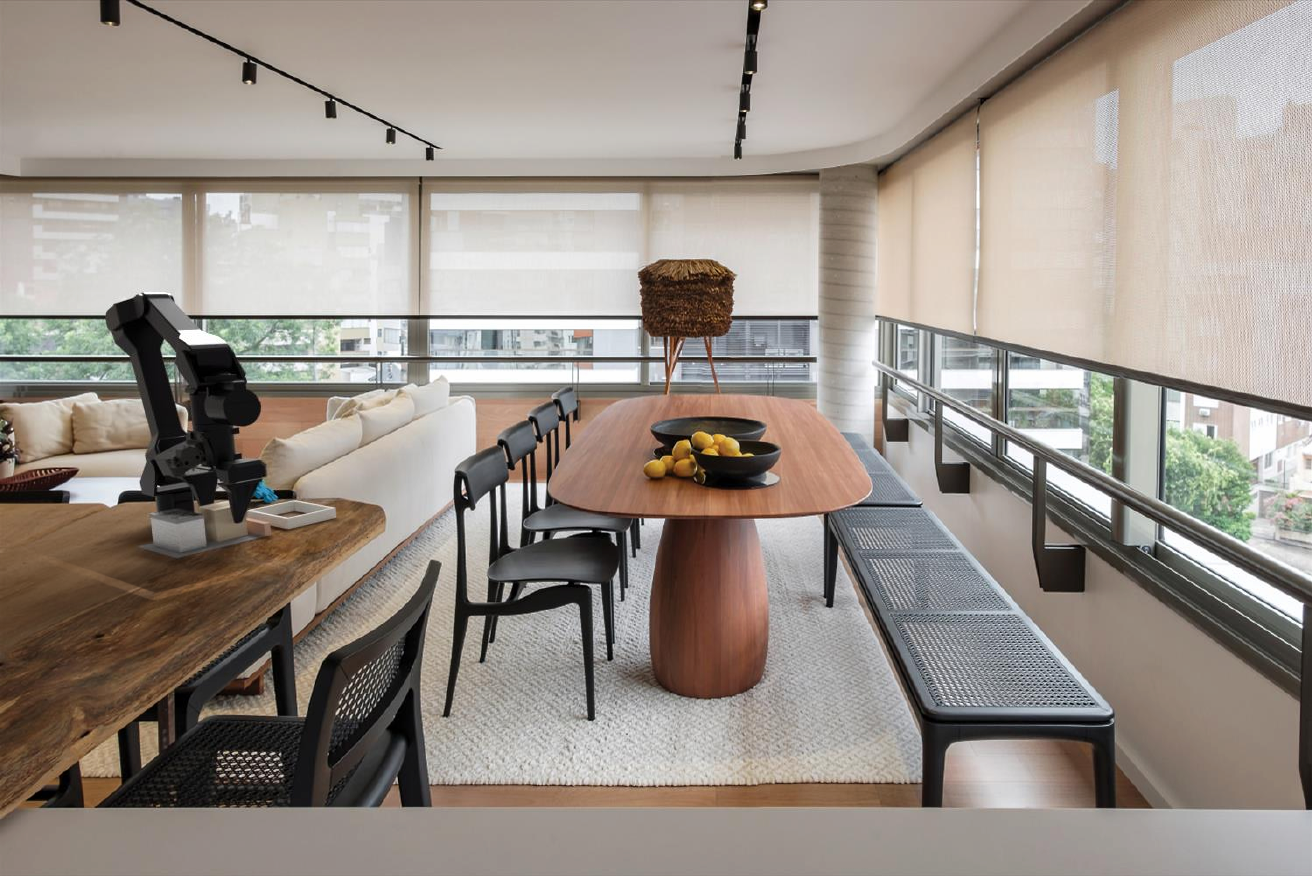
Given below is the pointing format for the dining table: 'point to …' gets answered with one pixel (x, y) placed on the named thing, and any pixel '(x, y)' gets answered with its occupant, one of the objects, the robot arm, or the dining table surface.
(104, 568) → the dining table surface
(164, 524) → the grey square block
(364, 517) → the dining table surface
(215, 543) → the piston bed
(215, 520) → the block
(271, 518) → the tray
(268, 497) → the blue toy piece
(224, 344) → the robot arm
